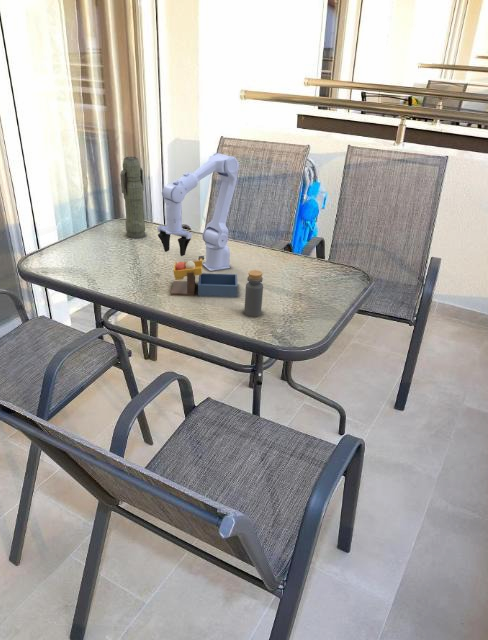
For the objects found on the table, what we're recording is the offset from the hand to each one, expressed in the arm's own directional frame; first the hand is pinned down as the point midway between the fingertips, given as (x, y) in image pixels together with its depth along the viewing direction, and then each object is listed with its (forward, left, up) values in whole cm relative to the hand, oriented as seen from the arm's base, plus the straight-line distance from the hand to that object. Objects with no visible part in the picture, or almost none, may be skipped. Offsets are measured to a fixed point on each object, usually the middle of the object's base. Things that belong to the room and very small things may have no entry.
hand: (174, 253), depth 194 cm
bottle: (-13, +39, -10) cm, 42 cm away
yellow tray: (-3, +9, -4) cm, 11 cm away
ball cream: (-1, +12, -1) cm, 12 cm away
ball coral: (+2, +11, -1) cm, 11 cm away
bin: (-10, +17, -10) cm, 22 cm away
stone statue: (-1, -55, -10) cm, 56 cm away
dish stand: (+1, +11, -10) cm, 15 cm away
